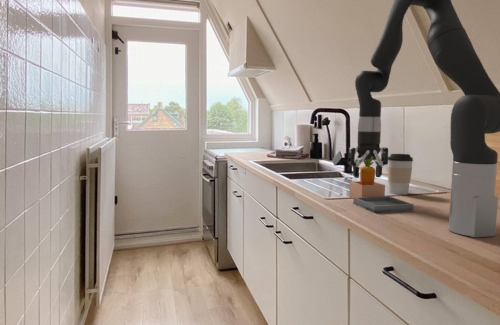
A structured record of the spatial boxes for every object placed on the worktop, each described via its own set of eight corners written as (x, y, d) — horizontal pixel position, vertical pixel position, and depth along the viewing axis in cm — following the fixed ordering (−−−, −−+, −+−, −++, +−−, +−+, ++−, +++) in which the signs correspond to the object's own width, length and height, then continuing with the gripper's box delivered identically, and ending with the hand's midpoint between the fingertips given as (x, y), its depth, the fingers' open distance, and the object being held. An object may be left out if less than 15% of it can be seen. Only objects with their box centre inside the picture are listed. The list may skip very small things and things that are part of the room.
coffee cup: (380, 191, 148) (382, 152, 147) (399, 190, 152) (401, 152, 150) (397, 195, 140) (399, 154, 138) (416, 194, 143) (419, 154, 142)
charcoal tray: (413, 210, 116) (413, 204, 116) (374, 212, 113) (374, 206, 113) (388, 201, 129) (388, 196, 129) (353, 203, 126) (353, 197, 126)
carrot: (356, 197, 135) (357, 155, 134) (367, 196, 137) (369, 155, 136) (365, 200, 131) (367, 156, 129) (376, 199, 133) (378, 156, 131)
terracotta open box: (384, 200, 131) (385, 184, 130) (361, 201, 129) (362, 185, 128) (371, 195, 139) (371, 180, 139) (349, 196, 137) (349, 181, 137)
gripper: (355, 130, 126) (353, 179, 128) (394, 130, 129) (391, 178, 131) (345, 130, 134) (343, 176, 135) (381, 130, 137) (379, 175, 138)
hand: (367, 177), depth 133 cm, fingers open, 8 cm apart
